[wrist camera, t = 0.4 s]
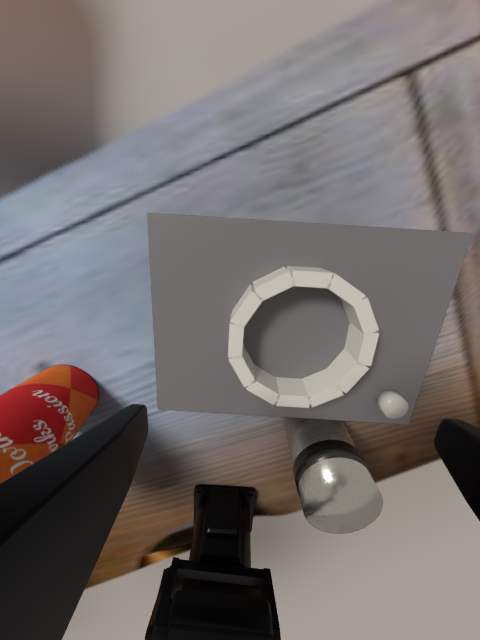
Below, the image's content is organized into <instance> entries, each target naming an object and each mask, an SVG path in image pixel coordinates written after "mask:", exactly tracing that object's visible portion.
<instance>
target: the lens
mask: <svg viewBox="0 0 480 640" xmlns="http://www.w3.org/2000/svg"><path fill="white" fill-rule="evenodd" d="M285 428H286V433H287V438H288V442H289V447H290V452H291V456H292V461H293V472H294V477H295V482H296V486H297V491H298V494H299V497H300V499H301V503H302V508H303V512H304V515H305V518H306V519H307V521H308V522H309V523H310V524H311V525H312V526H313V527H315V528H317V529H319V530H321V531H324V532H328V533H335V534H343V533H351V532H355V531H358V530H360V529H362V528H365V527H366V526H368V525H369V524H371V523H372V522H373V521H374V520H375V519H376V518H377V517H378V516H379V514H380V512H381V510H382V506H383V499H382V496H381V493H380V492H379V490H378V488H377V486H376V484H375V482H374V480H373V476H372V473H371V471H370V470H369V468H368V466H367V464H366V462H365V460H364V458H363V457H362V455H361V453H360V452H359V450H358V449H357V448H356V446H355V444H354V442H353V440H352V439H351V437H350V435H349V433H348V431H347V429H346V427H345V425H344V423H343V422H342V420H326V419H309V418H293V417H286V418H285Z"/></svg>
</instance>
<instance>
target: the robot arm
mask: <svg viewBox="0 0 480 640" xmlns="http://www.w3.org/2000/svg"><path fill="white" fill-rule="evenodd" d="M147 434H148V417H147V408H146V406H145V405H141V404H132V405H130V406H128V407H126V408H125V409H123V410H121V411H120V412H118V413H116V414H115V415H113V416H111V417H110V418H108V419H106V420H105V421H103V422H101V423H100V424H98V425H96V426H95V427H93V428H91V429H90V430H88V431H86V432H85V433H83V434H81V435H80V436H78V437H77V438H75V439H73V440H72V441H70V442H68V443H67V444H65V445H63V446H62V447H60V448H58V449H57V450H55V451H53V452H52V453H50V454H48V455H47V456H45V457H43V458H42V459H40V460H38V461H37V462H35V463H33V464H32V465H30V466H28V467H27V468H25V469H23V470H22V471H20V472H18V473H17V474H15V475H13V476H12V477H10V478H8V479H7V480H5V481H3V482H2V483H0V640H62V638H63V635H64V633H65V631H66V629H67V627H68V624H69V622H70V620H71V618H72V615H73V613H74V611H75V609H76V607H77V604H78V602H79V600H80V598H81V595H82V593H83V591H84V589H85V586H86V584H87V582H88V580H89V578H90V575H91V573H92V571H93V569H94V566H95V564H96V562H97V560H98V557H99V555H100V553H101V551H102V548H103V546H104V544H105V542H106V540H107V537H108V535H109V533H110V531H111V528H112V526H113V524H114V522H115V519H116V517H117V515H118V513H119V511H120V508H121V506H122V504H123V502H124V499H125V497H126V495H127V492H128V490H129V488H130V485H131V482H132V479H133V476H134V473H135V470H136V467H137V464H138V461H139V458H140V455H141V452H142V449H143V446H144V443H145V440H146V437H147ZM434 446H435V448H436V450H437V452H438V454H439V456H440V457H441V459H442V461H443V462H444V464H445V466H446V467H447V469H448V471H449V473H450V474H451V476H452V477H453V479H454V481H455V483H456V484H457V486H458V488H459V490H460V491H461V493H462V495H463V496H464V498H465V500H466V501H467V503H468V504H469V506H470V507H471V509H472V510H473V512H474V513H475V515H476V516H477V518H478V519H479V521H480V429H479V428H477V427H475V426H472V425H470V424H468V423H466V422H464V421H461V420H459V419H443V420H441V421H440V424H439V427H438V430H437V433H436V436H435V439H434ZM254 504H255V490H254V489H253V488H244V487H227V486H210V485H196V486H195V489H194V533H193V539H192V545H191V551H190V557H189V560H181V559H179V558H175V557H173V561H172V565H171V566H170V567H169V568H167V569H164V572H163V576H162V580H161V585H160V588H159V592H158V596H157V600H156V602H155V605H154V609H153V612H152V615H151V618H150V621H149V624H148V628H147V631H146V636H145V640H281V638H280V628H279V621H278V615H277V608H276V602H275V597H274V590H273V585H272V578H271V572H270V569H267V568H264V569H255V568H251V557H250V556H251V552H250V532H251V530H252V522H253V513H254Z"/></svg>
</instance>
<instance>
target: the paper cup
mask: <svg viewBox="0 0 480 640" xmlns="http://www.w3.org/2000/svg"><path fill="white" fill-rule="evenodd" d="M98 400H99V390H98V387H97V385H96V383H95V381H94V380H93V379H92V378H91V377H90V376H89V375H88V374H87V373H86V372H84V371H83V370H81V369H79V368H77V367H74V366H70V365H56V366H53V367H50V368H48V369H46V370H44V371H42V372H40V373H39V374H37V375H35V376H33V377H31V378H30V379H28V380H26V381H24V382H23V383H21V384H19V385H18V386H16V387H14V388H12V389H11V390H9V391H7V392H5V393H4V394H2V395H0V483H2V482H3V481H5V480H7V479H8V478H10V477H12V476H13V475H15V474H17V473H18V472H20V471H22V470H23V469H25V468H27V467H28V466H30V465H32V464H33V463H35V462H37V461H38V460H40V459H42V458H43V457H45V456H47V455H48V454H50V453H52V452H53V451H55V450H57V449H58V448H60V447H62V446H63V445H65V444H67V443H68V442H70V441H71V440H72V439H73V437H74V436H75V435H76V433H77V432H78V431H79V429H80V428H81V427H82V425H83V424H84V423H85V421H86V420H87V418H88V417H89V416H90V414H91V413H92V411H93V410H94V408H95V407H96V405H97V403H98Z"/></svg>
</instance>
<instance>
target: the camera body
mask: <svg viewBox="0 0 480 640" xmlns="http://www.w3.org/2000/svg"><path fill="white" fill-rule="evenodd" d="M147 218H148V237H149V255H150V274H151V292H152V310H153V329H154V347H155V366H156V384H157V403H158V409H160V410H176V411H193V412H210V413H226V414H243V415H259V416H276V417H293V418H309V419H326V420H343V421H359V422H376V423H392V424H409V422H410V419H411V416H412V413H413V410H414V407H415V404H416V401H417V398H418V395H419V392H420V389H421V386H422V383H423V380H424V377H425V374H426V371H427V368H428V365H429V362H430V359H431V356H432V353H433V350H434V347H435V344H436V341H437V338H438V335H439V332H440V329H441V326H442V323H443V320H444V317H445V314H446V311H447V308H448V305H449V302H450V299H451V296H452V293H453V290H454V288H455V285H456V282H457V279H458V276H459V273H460V270H461V267H462V264H463V261H464V258H465V255H466V252H467V249H468V246H469V243H470V240H471V237H472V234H473V233H465V232H449V231H433V230H417V229H401V228H385V227H368V226H352V225H336V224H320V223H304V222H288V221H272V220H256V219H240V218H224V217H208V216H192V215H176V214H160V213H147Z"/></svg>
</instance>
